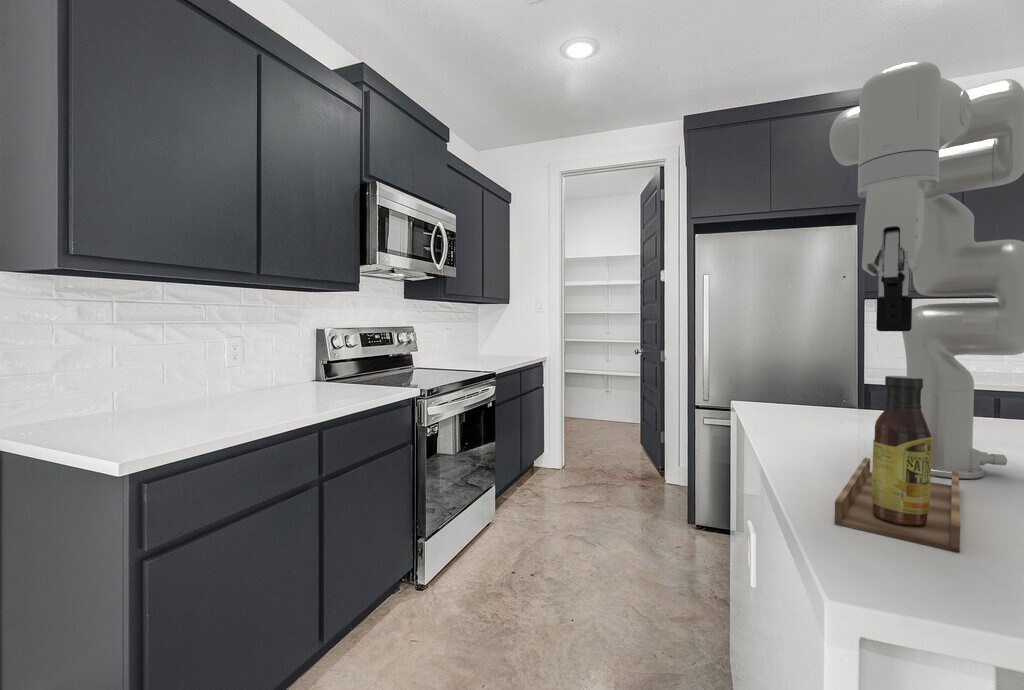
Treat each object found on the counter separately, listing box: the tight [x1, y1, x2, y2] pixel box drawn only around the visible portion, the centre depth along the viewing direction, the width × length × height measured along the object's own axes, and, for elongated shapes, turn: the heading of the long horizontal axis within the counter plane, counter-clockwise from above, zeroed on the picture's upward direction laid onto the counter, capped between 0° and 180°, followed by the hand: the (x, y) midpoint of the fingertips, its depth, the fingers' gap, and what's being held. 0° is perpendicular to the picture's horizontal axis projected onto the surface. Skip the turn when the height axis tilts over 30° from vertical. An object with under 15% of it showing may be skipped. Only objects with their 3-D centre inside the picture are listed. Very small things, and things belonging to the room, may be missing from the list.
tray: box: [834, 457, 961, 553], centre depth 72 cm, size 30×13×3 cm, turn 137°
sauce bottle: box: [871, 375, 932, 526], centre depth 65 cm, size 6×6×20 cm
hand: (893, 330), depth 57 cm, fingers closed
